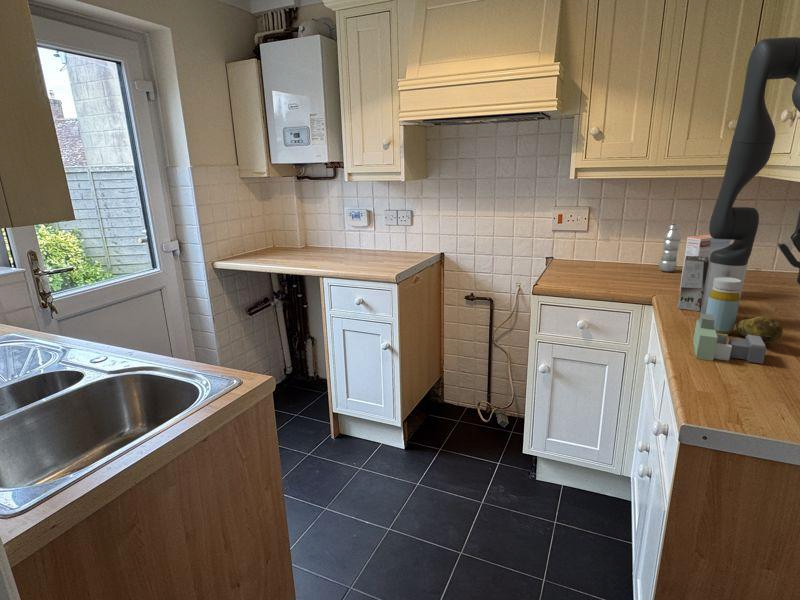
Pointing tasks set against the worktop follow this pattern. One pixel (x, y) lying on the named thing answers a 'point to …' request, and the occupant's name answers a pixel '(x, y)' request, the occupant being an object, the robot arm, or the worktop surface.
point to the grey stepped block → (748, 348)
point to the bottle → (724, 303)
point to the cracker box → (703, 247)
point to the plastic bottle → (670, 249)
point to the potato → (760, 328)
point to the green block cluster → (710, 340)
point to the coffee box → (693, 282)
